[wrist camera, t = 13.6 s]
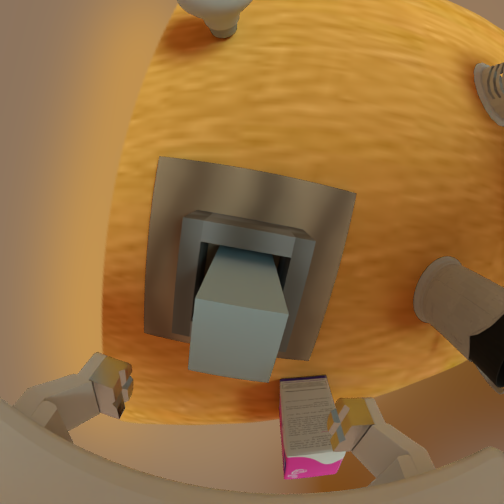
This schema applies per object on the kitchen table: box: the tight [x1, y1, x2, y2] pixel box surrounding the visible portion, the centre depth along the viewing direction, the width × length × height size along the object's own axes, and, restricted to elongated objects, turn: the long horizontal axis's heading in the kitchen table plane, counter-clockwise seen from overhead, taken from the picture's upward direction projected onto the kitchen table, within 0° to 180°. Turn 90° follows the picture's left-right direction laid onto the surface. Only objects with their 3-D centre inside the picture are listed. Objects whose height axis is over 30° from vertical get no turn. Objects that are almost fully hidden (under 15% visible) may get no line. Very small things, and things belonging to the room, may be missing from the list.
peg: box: [188, 245, 289, 383], centre depth 19 cm, size 4×4×12 cm
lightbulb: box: [177, 0, 252, 38], centre depth 14 cm, size 6×6×11 cm
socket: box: [144, 156, 357, 361], centre depth 23 cm, size 18×18×6 cm
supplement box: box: [279, 375, 346, 479], centre depth 24 cm, size 6×6×12 cm
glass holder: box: [413, 256, 504, 394], centre depth 20 cm, size 9×14×15 cm, turn 32°
